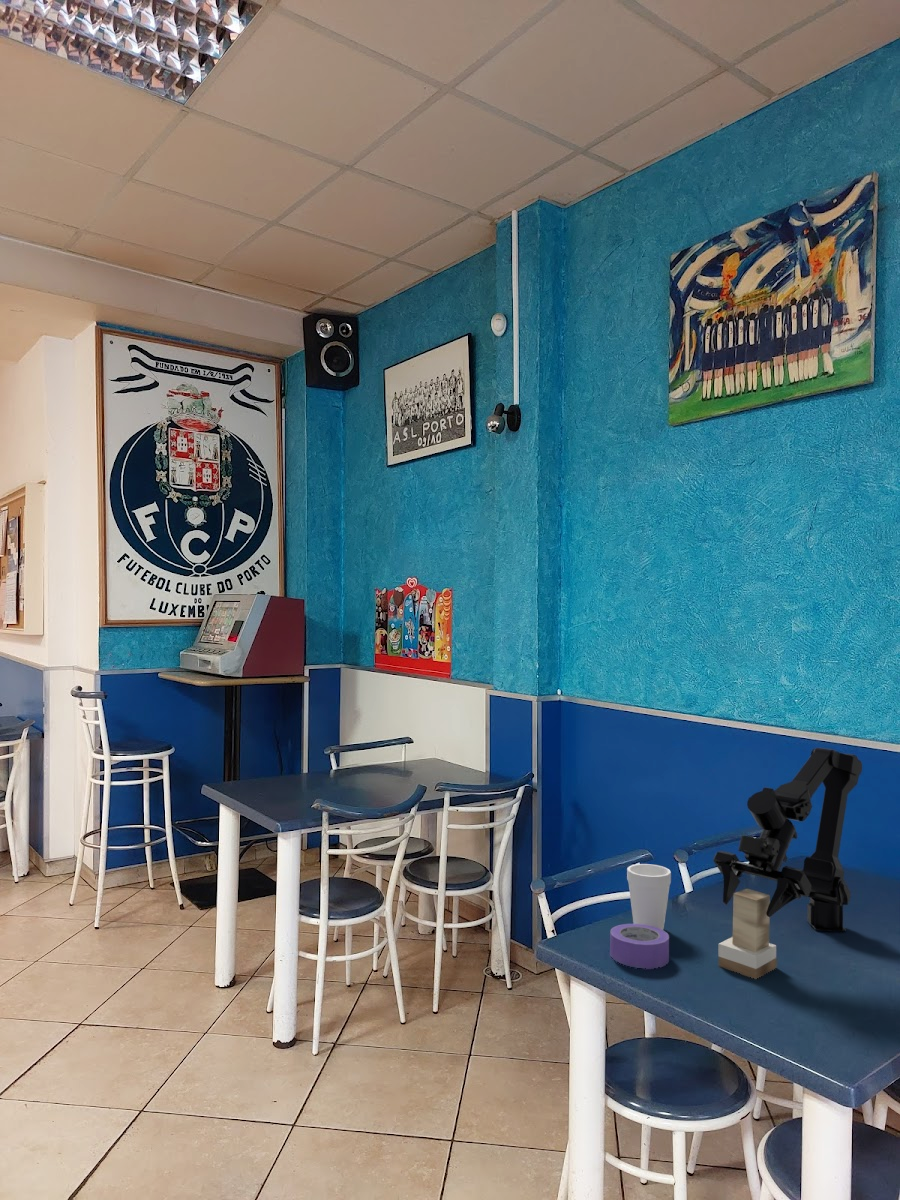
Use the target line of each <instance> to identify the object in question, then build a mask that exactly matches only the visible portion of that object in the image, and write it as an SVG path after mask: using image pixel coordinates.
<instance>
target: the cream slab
mask: <svg viewBox="0 0 900 1200" xmlns="http://www.w3.org/2000/svg"><path fill="white" fill-rule="evenodd" d="M732 940H733V936H731V937H729V938H727V939H725V940H723V941H722V942H719V943H718V947H717V948H718V954H717V955H718V958H719V957H722V958H725V959H728V960H731V961H734V962H737V963H740V964H743V965H746V966H749V967H752V968H755V969H757V968H759V967H761V966H763V965H764V964H766V963H768V962H770V961H772V960H773V959H775V958H777V945H776V944H773V943H770V942H769V946H767V947H765V948H763V949H761V950H759V951H757V952H754V951H751V950H748V949H746V948H743V947H740V946H737V945H734V944H732Z"/></svg>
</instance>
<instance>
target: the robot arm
mask: <svg viewBox="0 0 900 1200" xmlns="http://www.w3.org/2000/svg"><path fill="white" fill-rule="evenodd" d="M810 753H811V754H810V756H809V758H808V759H807V761H805V763H804V764H803V766H802V767H801V768H800V770H799V771H798V772H797V773H796V775H795V776H794V778H793V779H792V780H791V781H790V782H786V783H784V784H780V785H779V786H778V787H777V788H776V789H775V790H774V788H771V787H766V786H764V787H763V788H762V790H761V791H758V792H755V793H754V794H752V795H751V796H749V797H748V799H747V801H746V802H747V803H746V806H747V808H748V811H749V812H750V814H751V815H752V817H753V819H754V820H755V822H756V824H757V826H758V827H759V828H761V829H762V831H761V832H760V833H761V834H760V836H759V837H757V836H756V837H753V836H750V835H749V836H748V835H744V834H743V835H741V837H740V840H739V845H738V851H739V852H740V853H741V852H742V853H743V854H744V855H743V857H744V858H745V860H746V861H748V863H746V862H742V861H741V860H740V859H739V858H738V856H737V854H736V853H731V852H729V851H724V850H719V851H717V852H715V854H714V857H713V858H712V861H713V863H714V864H715V866H716V867H717V868H718V870H719V872H720V873H721V875H722V879H723V891H722V892H723V893H722V902H723V904H724V905H728V904H729V902H730V901H731V899H732V897H733V894H734V893H736V890H737V888H738V886H739V885H740V883H741V880H740V879H739V878H741V877H742V875H743V874H748V875H751V876H755V877H760V878H762V879H763V878H764V879H767V880H770V881H771V880H772V881H776V888H775V891H774V893H773V895H772V898H770V904H769V906H768V909H767V913H766V915H767V916H768V917H770V918H771V917H772V916H773V915H775V914H776V913H777V912H778V911H780V910H781V909H782V908H784V907H785V906H786V905H787V904H789V903H791V902H793V901H794V900H797V899H799V900H801V899H802V897H805V898H809V902H808V903H807V904H806V905H807V915H806V916H807V918H806V920H807V922H808V923H809V925H810V926H811V927H812V928H813V929H814V931H816V932H817V931H818V932H837V933H839V932H843V933H845V932H847V929H846V928H845V927H844V906H848V905H849V904H850V903H849V902H850V901H851V900H850V899H851V893H852V892H851V890H850V888H849V886H848V884H847V882H846V881H845V877H844V875H845V870H844V867H843V865H842V863H841V861H840V859H839V854H840V847H841V841H842V834H843V828H844V823H845V822H844V820H845V815H846V808H847V802H848V796H849V794H850V792H851V791H852V790H853V789H854V788H855V787H856V786H857V785H858V782H859V778H860V775H861V774H862V771H863V763H862V761H861V760H860V759H859V758H858V756H857V754H854V753H853V754H852V753H845V752H844V753H843V752H839V751H837V750H835V749H831V748H824V747H823V748H822V747H816V748H815V747H814V748H812V749H811V752H810ZM821 784H823V786H824V793H823V800H822V807H821V813H820V819H819V826H818V831H817V838H816V845H815V850H814V852H813V853H812V854H811V855H810V856H806V857H805V858H804V861H803V869H801V868H800V869H799V868H796V867H791V866H788V865H786V866H783V867H782V868H781V866H782V864H783V863H787V861H788V857H787V855H786V854H787V851H788V849H789V847H790V844H791V843H792V839H794V840H797V839H798V833H797V831H796V827H795V824H793V822H792V821H797V822H804V821H805V820H806V819H807V818H808V817H809V816H810V813H811V811H812V808H813V804H812V801H811V800H812V798H813V796H814V794H815V793H816V791H817V790H818V789H819V787H820V786H821ZM791 820H792V821H791ZM780 869H781V871H780Z"/></svg>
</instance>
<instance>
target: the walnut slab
mask: <svg viewBox="0 0 900 1200" xmlns="http://www.w3.org/2000/svg"><path fill="white" fill-rule="evenodd" d="M718 967H719V968H722V969H726V970H727V971H730V972H731V971H732V972H733V971H734V973H736V972H737V974H739V973H740V975H742V976H745V977H747V978H750V977H751V979H753V978H754V980H757V978H758V979H759V977H760V978H761V976H762V977H764V976H765V975H767V974H769V973H771V972H772V970H773V971H774V969H775V968H778V957H776V958H775V959H773V960H772V961H770V962H768V963H766V964H764V965H763V966H761V967H759V968H757V969H755V968H752V967H749V966H746V965H743V964H740V963H737V962H734V961H731V960H728V959H725V958H722V957H719V956H718ZM775 970H776V969H775ZM770 971H771V972H770ZM768 972H769V973H768ZM766 973H767V974H766ZM764 974H765V975H764Z"/></svg>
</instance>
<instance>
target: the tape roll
mask: <svg viewBox="0 0 900 1200" xmlns="http://www.w3.org/2000/svg"><path fill="white" fill-rule="evenodd" d="M609 935H610V938H609V939H610V941H609V943H610V945H609V957H610V956H611V957H612V958H613V959H614V960H616V961H618V962H619V963H622V964H625V965H628V966H632V967H638V968H646V969H645V970H655V969H654V968H656V969H659V968H658V967H660V968H662V967H665V966H666V964H667V965H668V963H669V962H670V934H669V933H668V932H667V931H665V930H664V929H663V930H662V929H659V928H657V927H653V926H649V925H643V924H634V923H623V924H618V925H616V926H613V927H612V928H611V929H610V932H609ZM611 957H610V958H611ZM612 958H611V959H612ZM613 959H612V960H613ZM614 960H613V961H614ZM619 963H618V964H619Z"/></svg>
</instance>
